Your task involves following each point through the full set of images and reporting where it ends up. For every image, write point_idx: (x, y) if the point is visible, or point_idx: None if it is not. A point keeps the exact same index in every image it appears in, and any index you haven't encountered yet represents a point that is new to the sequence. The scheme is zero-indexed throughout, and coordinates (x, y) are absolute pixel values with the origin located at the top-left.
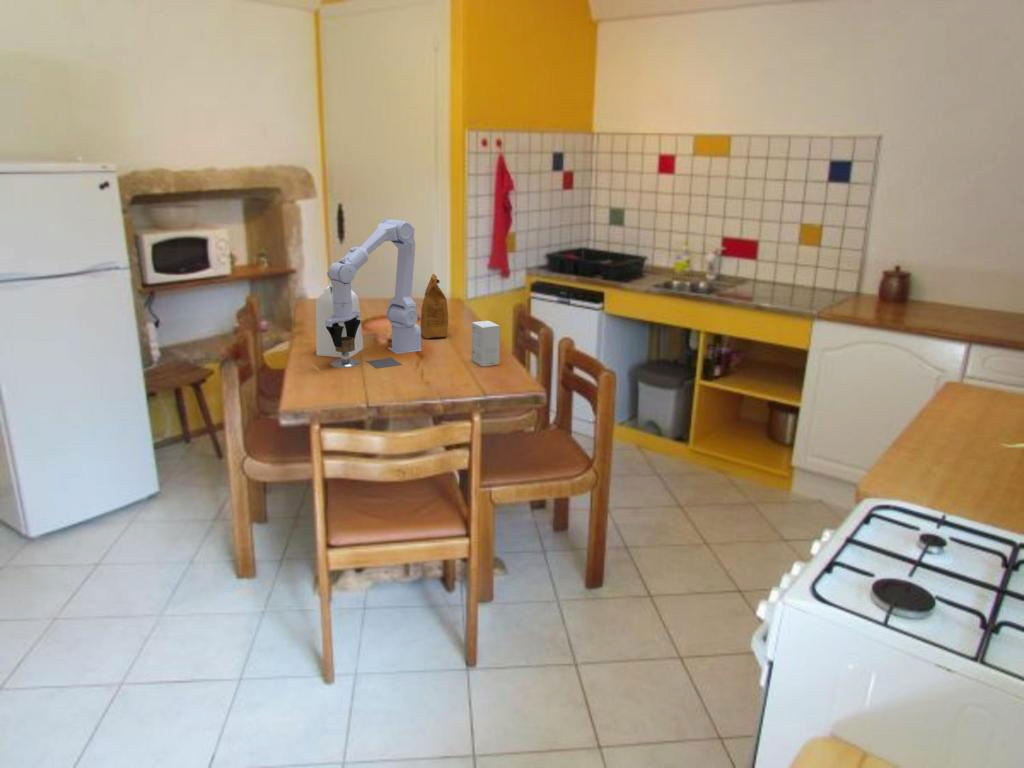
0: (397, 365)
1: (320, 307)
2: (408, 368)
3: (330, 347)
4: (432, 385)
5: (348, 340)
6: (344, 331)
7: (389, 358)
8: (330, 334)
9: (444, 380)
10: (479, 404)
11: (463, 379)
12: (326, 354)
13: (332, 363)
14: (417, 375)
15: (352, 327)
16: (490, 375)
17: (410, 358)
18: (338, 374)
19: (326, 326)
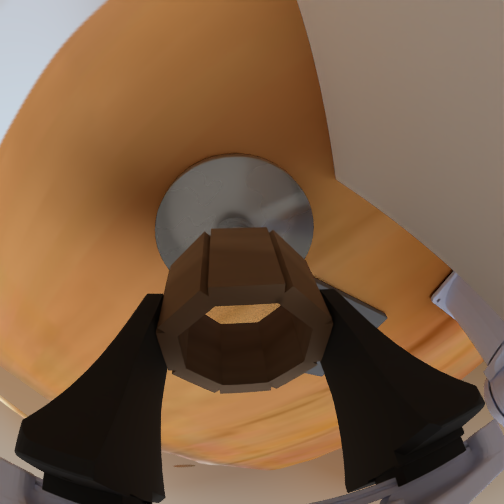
0: (308, 373)
1: None
2: (308, 385)
3: (347, 64)
4: (220, 439)
5: (302, 321)
6: (448, 232)
7: (376, 320)
8: (89, 370)
9: (259, 438)
10: (192, 466)
11: (280, 443)
12: (317, 42)
13: (178, 192)
14: (262, 414)
15: (351, 428)
16: (317, 445)
17: (401, 339)
18: (115, 284)
19: (22, 441)
